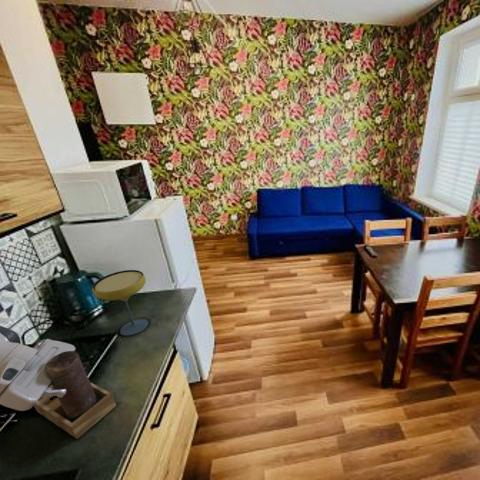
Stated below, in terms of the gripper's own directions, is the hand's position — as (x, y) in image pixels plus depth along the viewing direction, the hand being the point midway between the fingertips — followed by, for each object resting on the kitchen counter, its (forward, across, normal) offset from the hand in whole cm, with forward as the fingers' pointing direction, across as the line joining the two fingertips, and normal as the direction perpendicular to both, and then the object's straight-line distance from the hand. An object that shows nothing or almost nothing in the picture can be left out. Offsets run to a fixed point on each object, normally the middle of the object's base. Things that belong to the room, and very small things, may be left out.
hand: (73, 381), depth 79 cm
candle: (+8, 0, -9) cm, 12 cm away
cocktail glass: (+10, -42, -10) cm, 44 cm away
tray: (+7, -3, -14) cm, 16 cm away
